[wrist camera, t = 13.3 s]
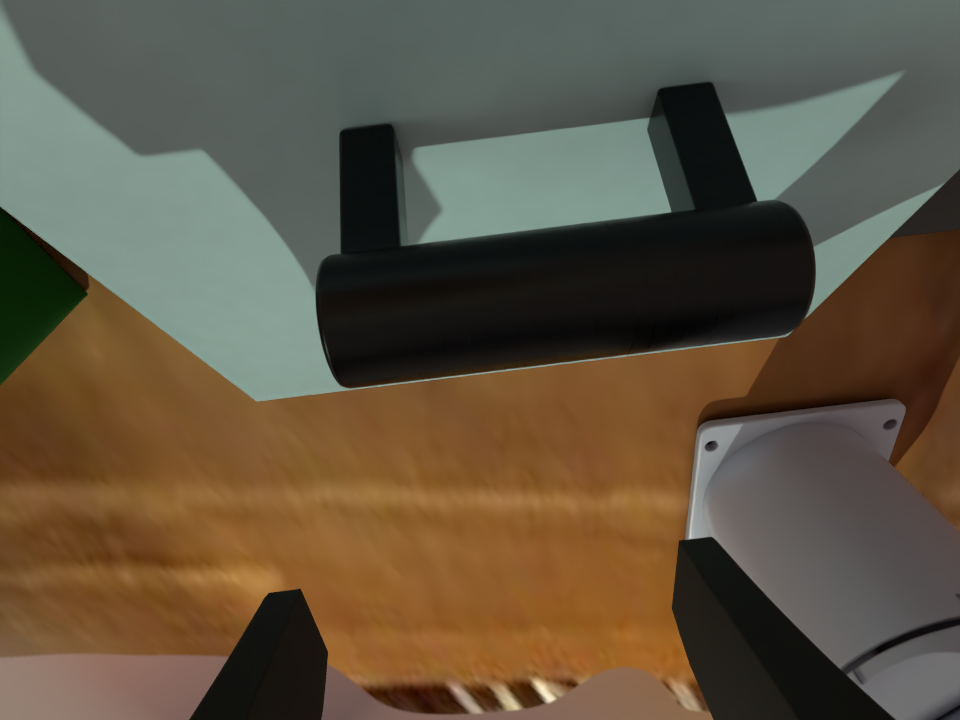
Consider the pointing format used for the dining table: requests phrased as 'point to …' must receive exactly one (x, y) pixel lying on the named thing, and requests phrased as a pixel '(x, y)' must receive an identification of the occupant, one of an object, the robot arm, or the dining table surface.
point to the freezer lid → (470, 170)
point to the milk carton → (29, 295)
